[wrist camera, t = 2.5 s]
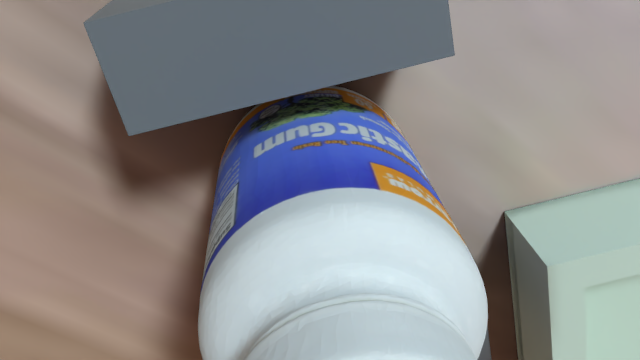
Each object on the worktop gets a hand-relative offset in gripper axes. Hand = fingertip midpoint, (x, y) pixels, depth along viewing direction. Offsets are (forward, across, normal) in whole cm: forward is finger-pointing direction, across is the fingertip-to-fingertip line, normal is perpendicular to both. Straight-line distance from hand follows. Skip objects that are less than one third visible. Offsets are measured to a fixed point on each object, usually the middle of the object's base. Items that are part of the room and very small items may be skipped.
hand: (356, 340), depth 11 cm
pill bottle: (+7, 0, 0) cm, 7 cm away
